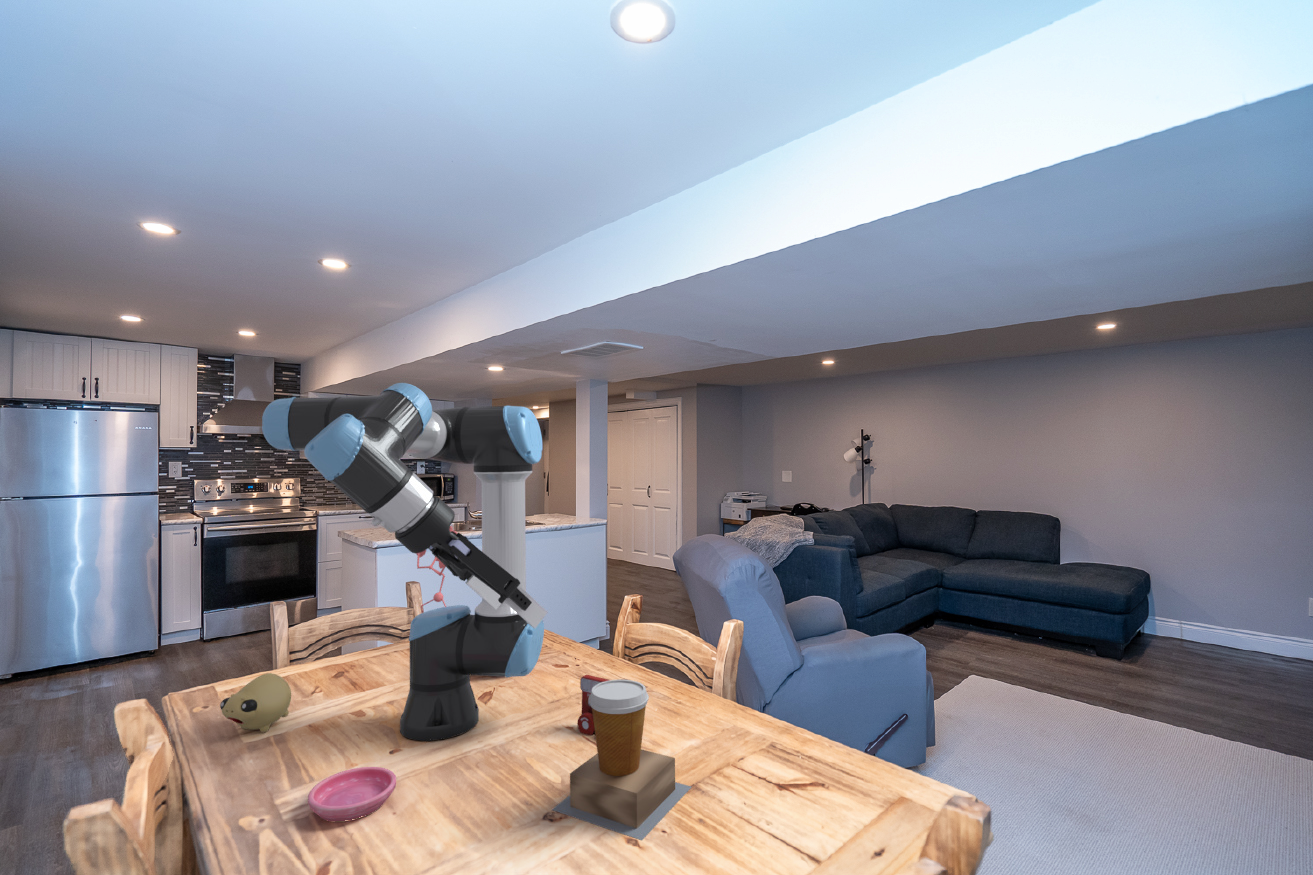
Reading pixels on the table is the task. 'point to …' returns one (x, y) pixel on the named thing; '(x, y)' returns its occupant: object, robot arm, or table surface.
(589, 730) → the toy fire truck
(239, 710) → the green toy animal
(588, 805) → the pedestal
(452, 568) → the robot arm
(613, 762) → the disposable coffee cup
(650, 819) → the mat
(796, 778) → the table surface
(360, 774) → the saucer
